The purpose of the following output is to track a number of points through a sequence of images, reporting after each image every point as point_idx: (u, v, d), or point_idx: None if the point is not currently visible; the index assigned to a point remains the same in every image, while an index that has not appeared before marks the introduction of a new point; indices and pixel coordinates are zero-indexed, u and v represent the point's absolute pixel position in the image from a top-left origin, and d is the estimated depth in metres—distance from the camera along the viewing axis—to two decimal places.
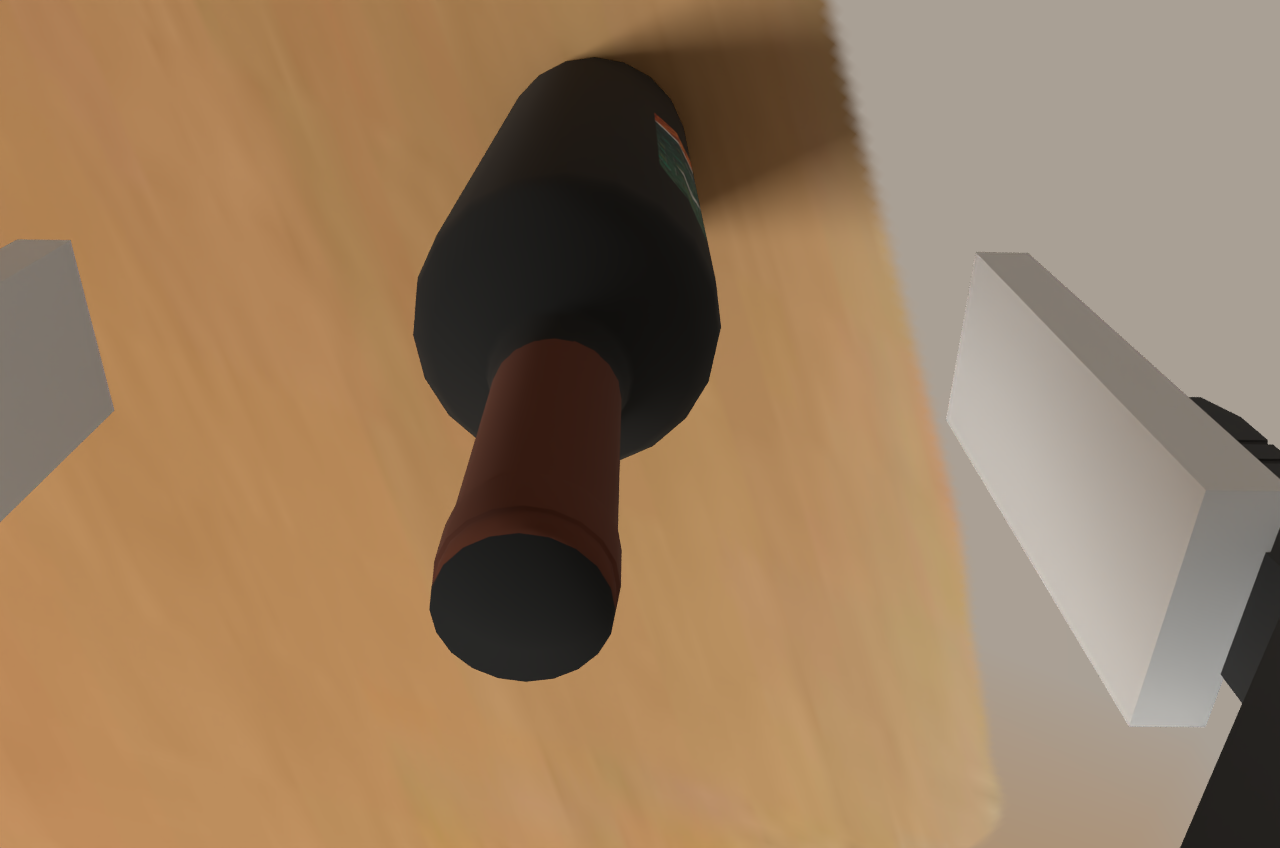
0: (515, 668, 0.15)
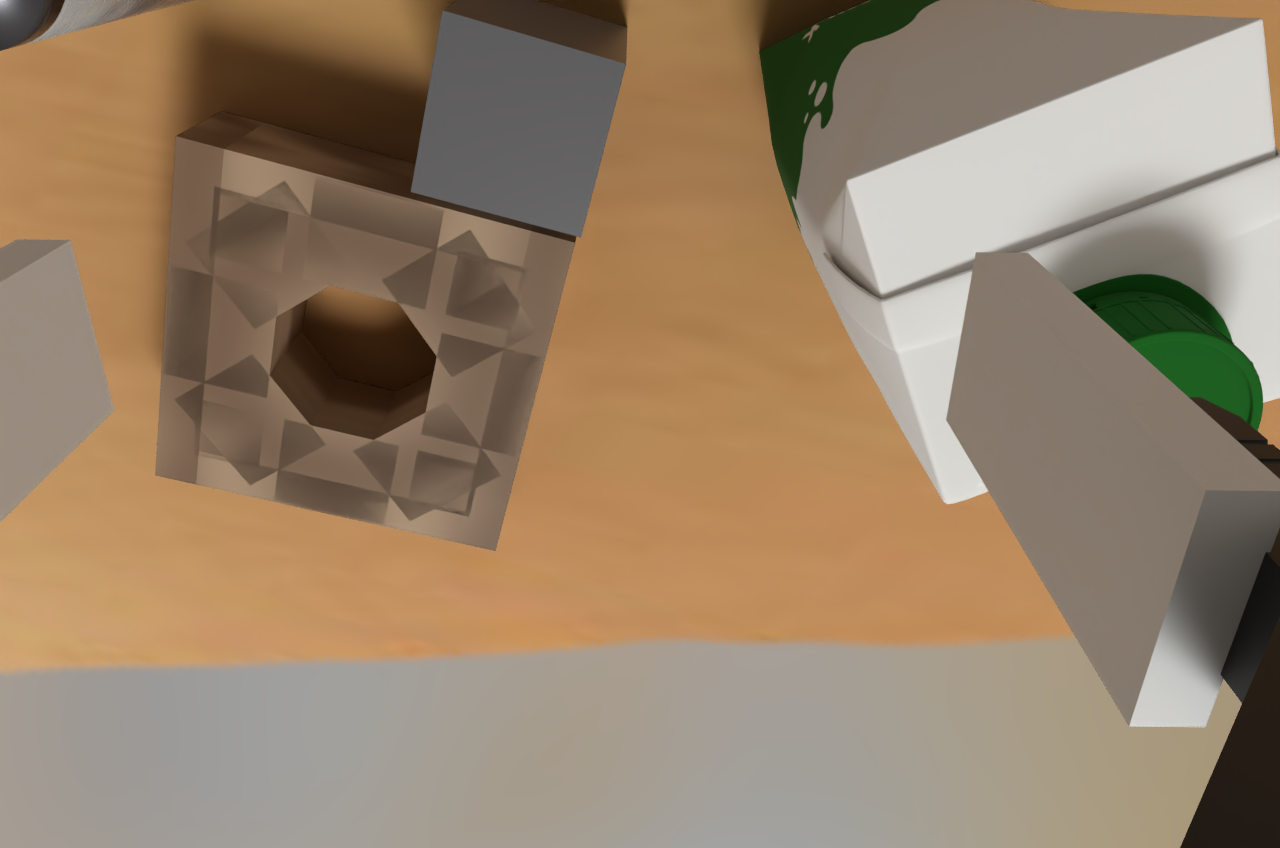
0: None
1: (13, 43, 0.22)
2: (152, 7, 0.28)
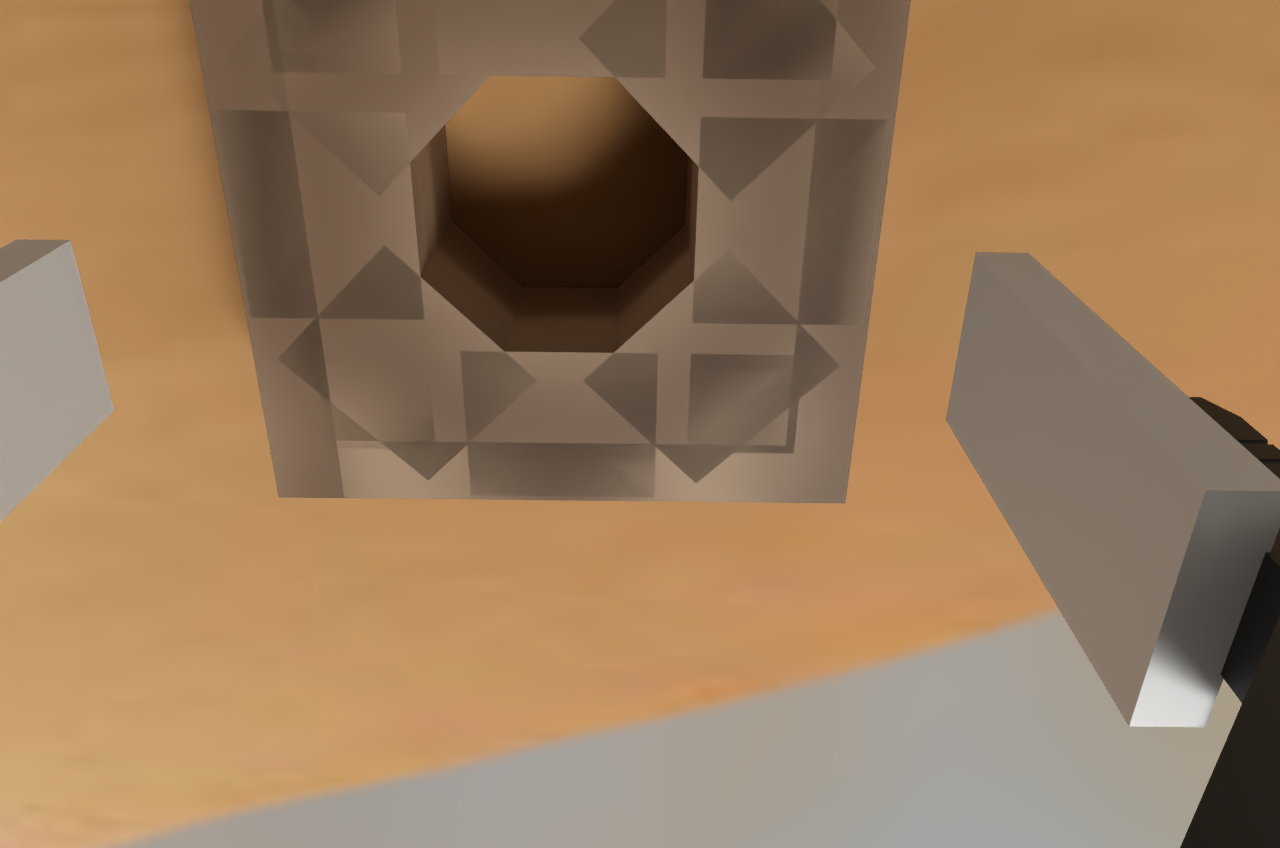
0: None
1: None
2: None
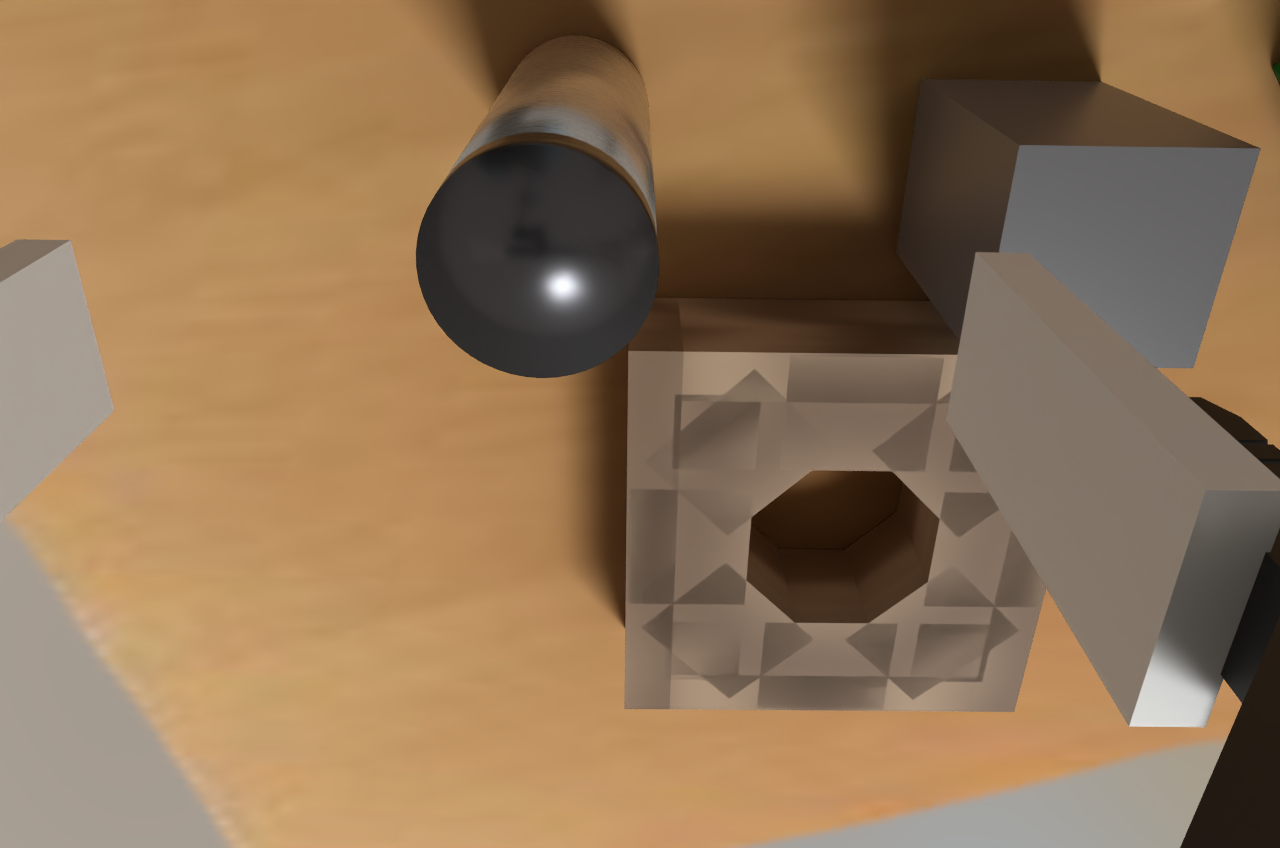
0: None
1: (618, 350, 0.17)
2: None
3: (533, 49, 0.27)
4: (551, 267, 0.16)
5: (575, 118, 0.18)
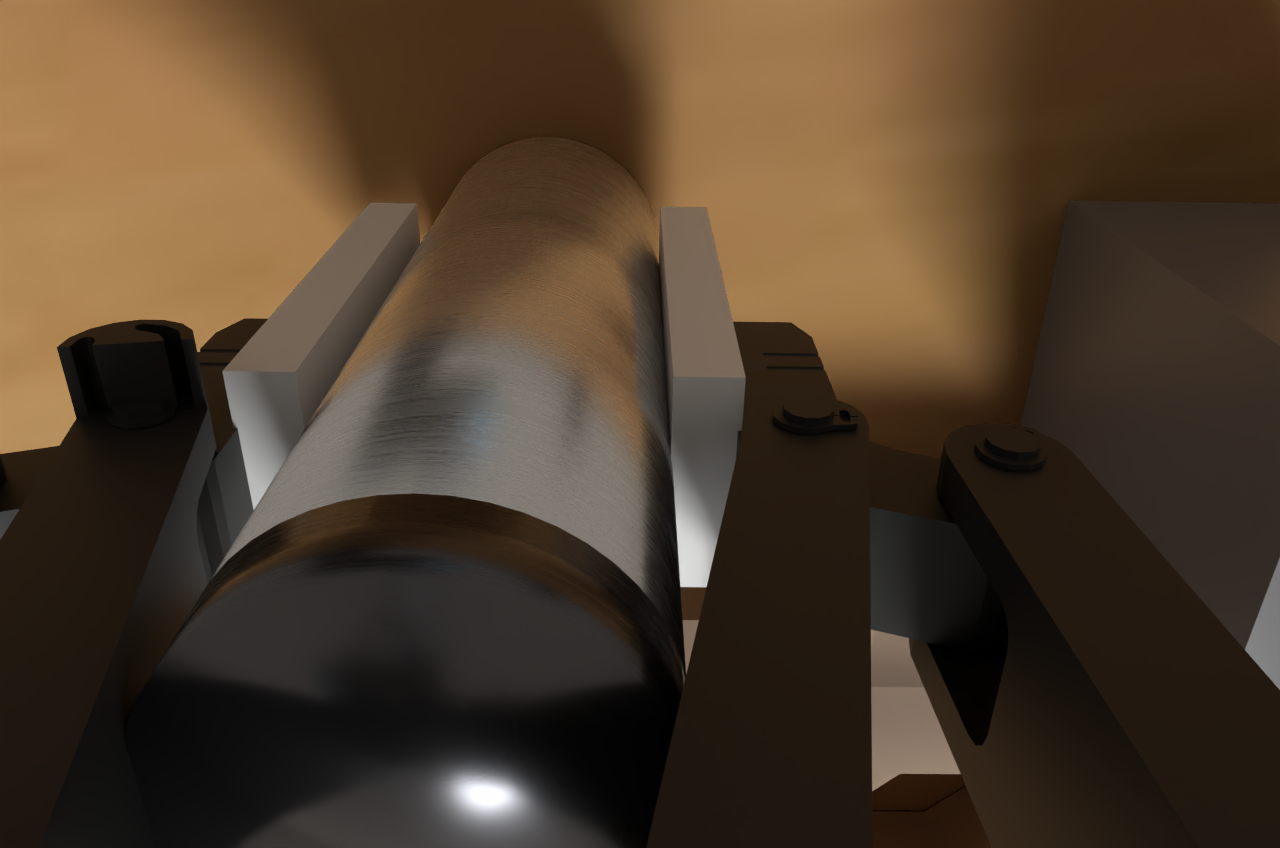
0: None
1: None
2: None
3: (482, 157, 0.18)
4: (443, 807, 0.07)
5: (512, 409, 0.08)
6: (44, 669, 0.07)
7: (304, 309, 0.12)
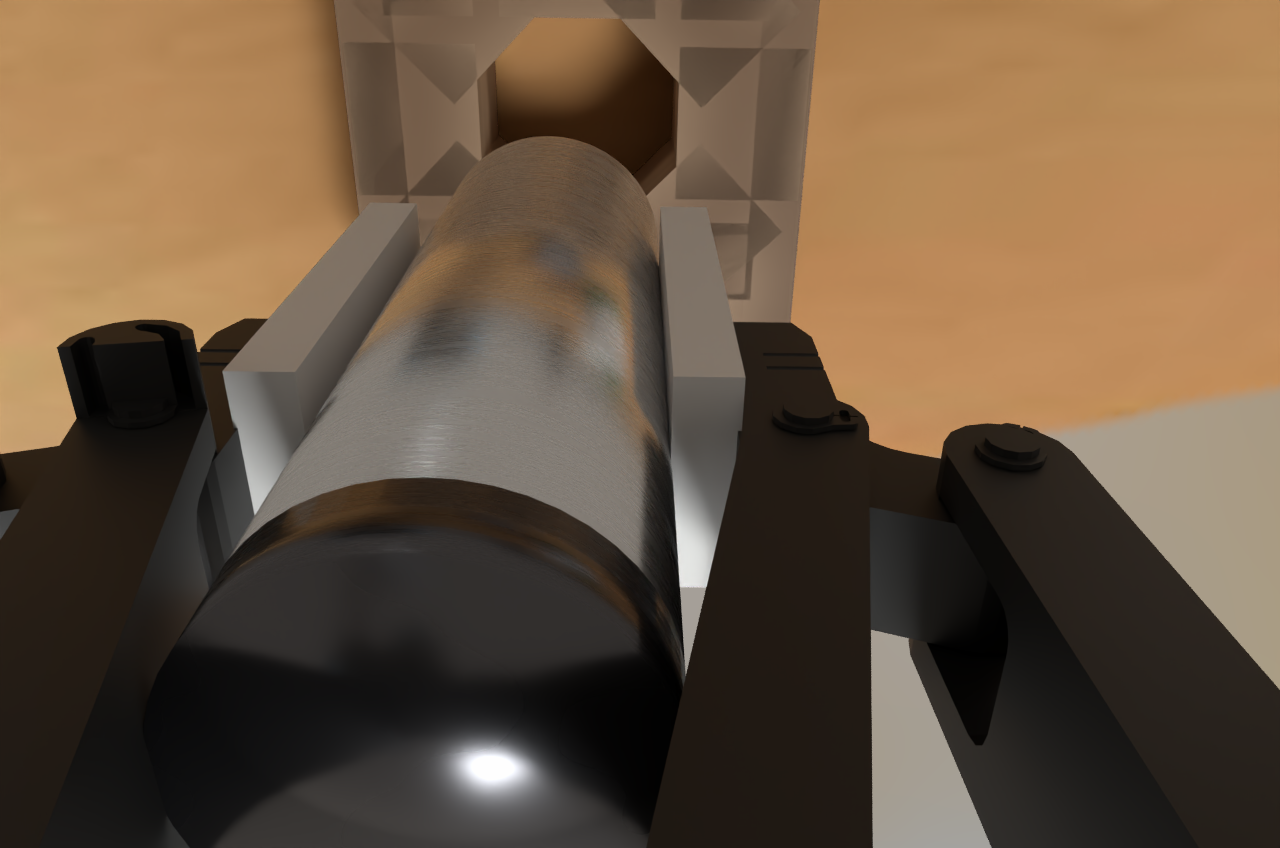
0: None
1: None
2: None
3: (485, 156, 0.18)
4: (450, 778, 0.07)
5: (515, 398, 0.09)
6: (43, 671, 0.07)
7: (304, 309, 0.12)
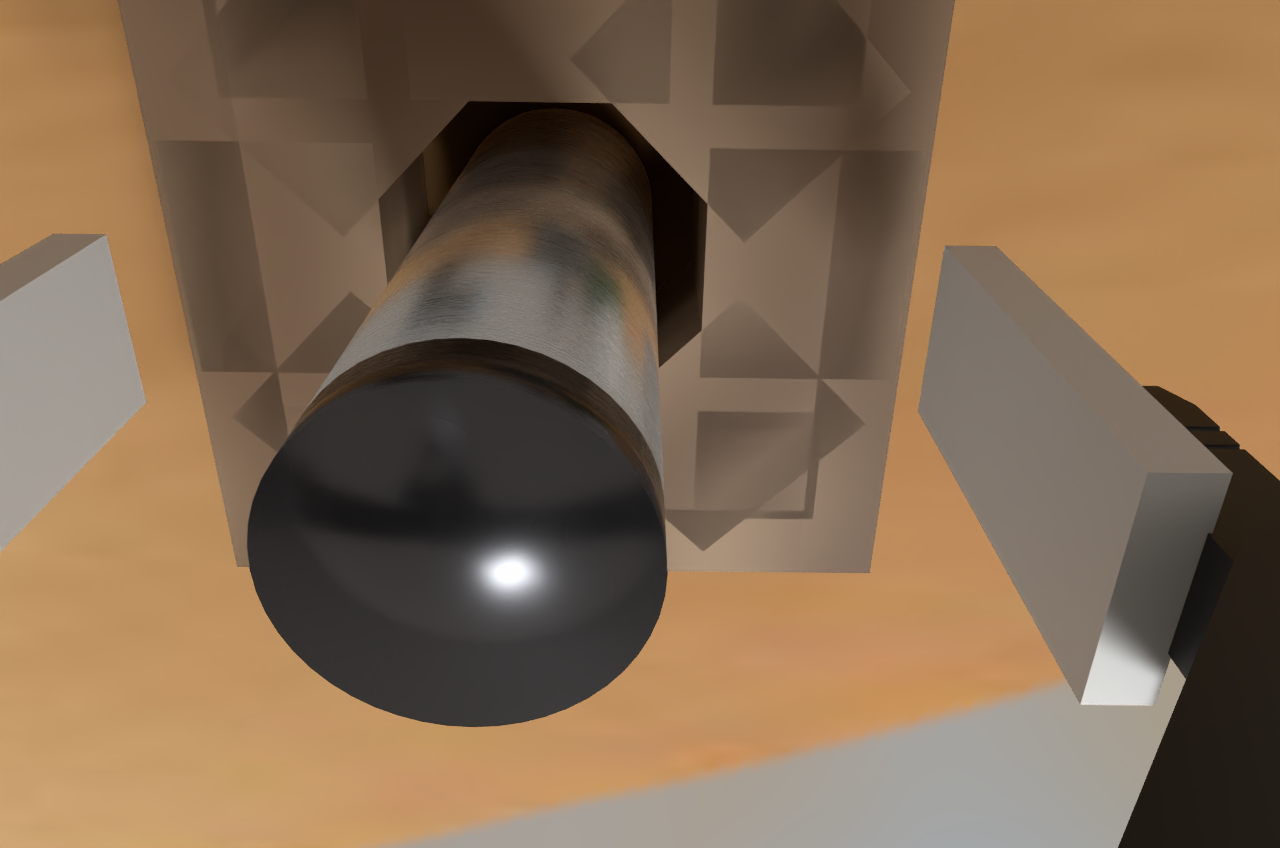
0: None
1: (599, 688, 0.10)
2: None
3: (498, 126, 0.20)
4: (481, 570, 0.10)
5: (530, 292, 0.11)
6: None
7: None
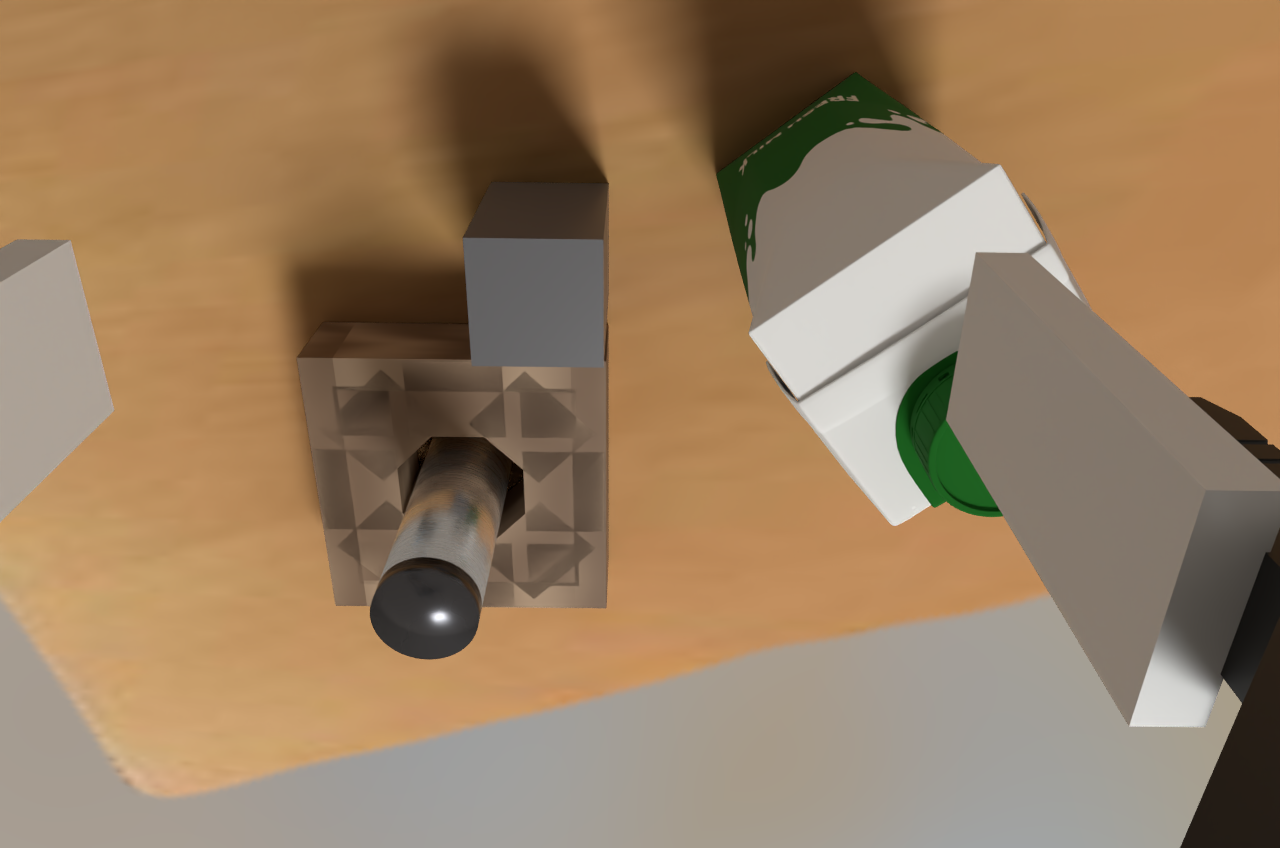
0: None
1: (463, 648, 0.38)
2: None
3: None
4: (430, 617, 0.37)
5: (445, 536, 0.38)
6: None
7: None
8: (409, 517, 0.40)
